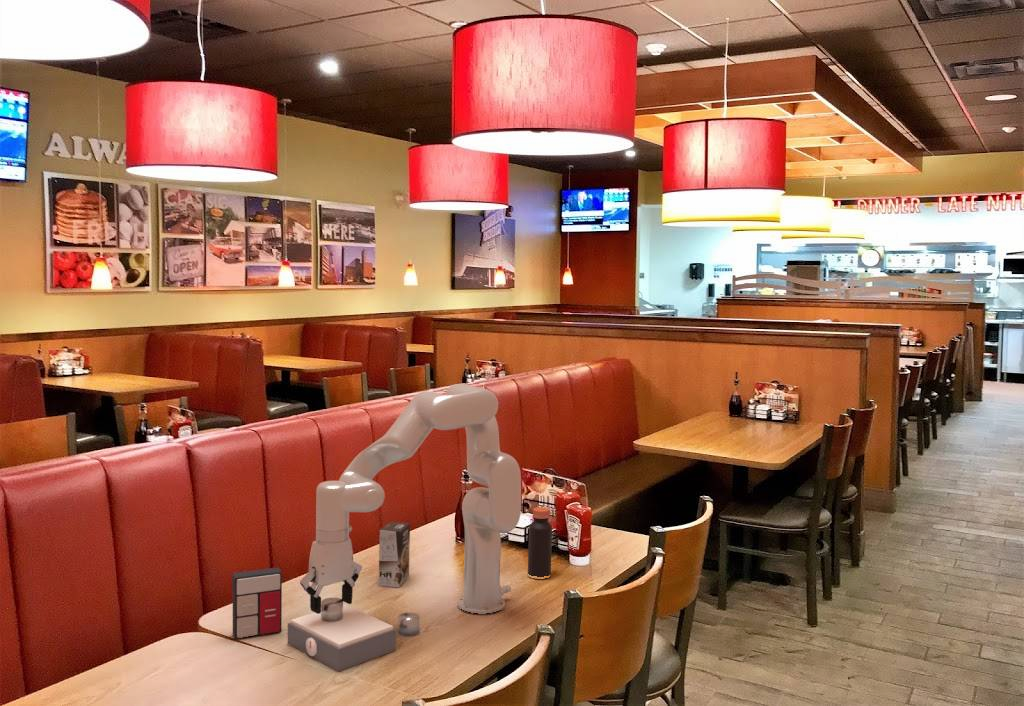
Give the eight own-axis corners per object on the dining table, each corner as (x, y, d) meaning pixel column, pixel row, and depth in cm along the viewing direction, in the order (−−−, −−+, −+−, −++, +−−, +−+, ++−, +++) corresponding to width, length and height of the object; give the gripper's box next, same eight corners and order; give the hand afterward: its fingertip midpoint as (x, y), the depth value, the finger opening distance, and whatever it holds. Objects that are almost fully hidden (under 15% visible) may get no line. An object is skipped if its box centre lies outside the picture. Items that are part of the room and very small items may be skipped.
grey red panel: (235, 640, 205) (235, 578, 203) (231, 634, 208) (232, 573, 207) (282, 633, 210) (282, 572, 208) (278, 626, 213) (278, 567, 212)
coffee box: (399, 588, 242) (400, 531, 241) (377, 586, 244) (378, 529, 242) (410, 577, 251) (411, 522, 250) (388, 575, 252) (389, 520, 251)
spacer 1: (334, 612, 209) (334, 595, 208) (347, 618, 205) (347, 601, 205) (316, 617, 205) (317, 601, 205) (329, 623, 202) (329, 607, 201)
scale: (343, 625, 215) (344, 602, 215) (395, 650, 202) (395, 626, 201) (285, 644, 203) (285, 620, 203) (336, 672, 190) (336, 646, 189)
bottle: (554, 575, 256) (557, 508, 255) (543, 581, 251) (545, 513, 249) (535, 570, 260) (537, 505, 258) (523, 577, 254) (525, 509, 252)
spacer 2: (409, 626, 216) (410, 611, 216) (423, 632, 213) (423, 616, 212) (394, 632, 212) (394, 616, 212) (407, 638, 209) (407, 622, 209)
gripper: (353, 524, 212) (352, 593, 214) (291, 538, 199) (290, 612, 201) (372, 530, 207) (371, 602, 209) (309, 545, 194) (309, 621, 196)
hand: (331, 606), depth 205 cm, fingers open, 8 cm apart
